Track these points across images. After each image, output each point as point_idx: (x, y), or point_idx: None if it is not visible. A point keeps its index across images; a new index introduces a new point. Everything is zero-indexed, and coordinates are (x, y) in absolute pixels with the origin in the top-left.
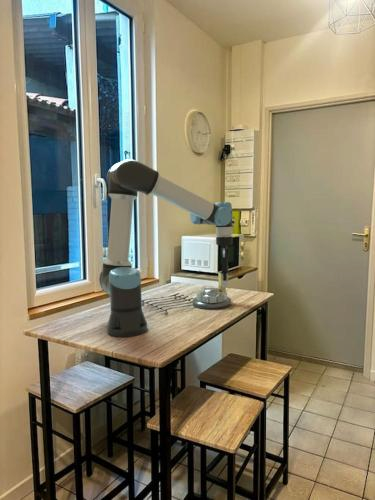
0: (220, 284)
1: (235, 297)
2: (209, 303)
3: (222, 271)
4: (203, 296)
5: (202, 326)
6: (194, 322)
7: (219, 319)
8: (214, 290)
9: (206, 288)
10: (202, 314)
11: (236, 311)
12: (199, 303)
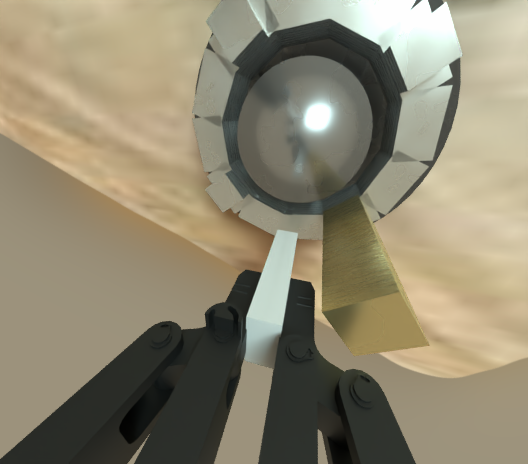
0: (336, 229)
1: (432, 265)
2: None
3: (144, 340)
4: (203, 67)
5: (15, 95)
6: (31, 51)
7: (104, 162)
8: (258, 164)
9: (345, 82)
10: (135, 82)
11: (203, 230)
12: None
